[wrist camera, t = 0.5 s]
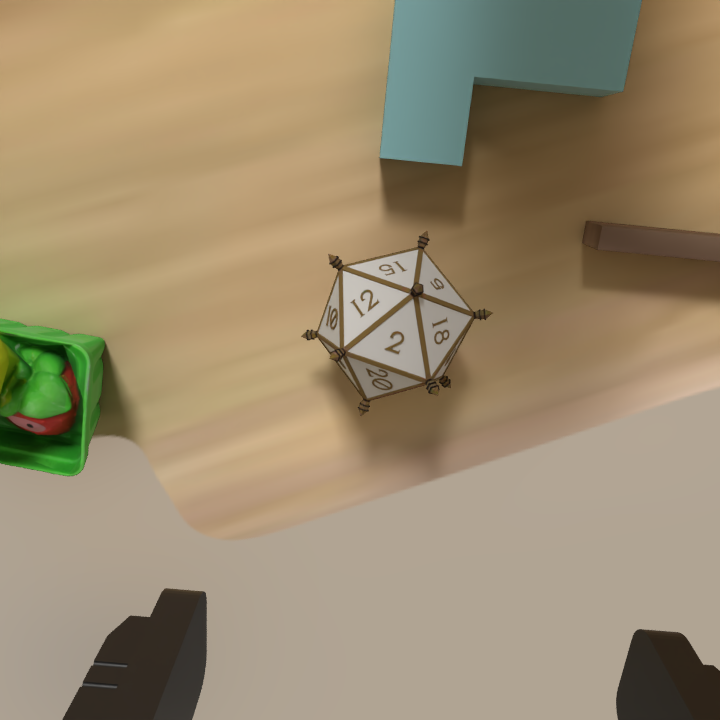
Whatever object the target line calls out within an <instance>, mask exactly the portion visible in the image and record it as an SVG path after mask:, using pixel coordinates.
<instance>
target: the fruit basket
mask: <svg viewBox="0 0 720 720" xmlns="http://www.w3.org/2000/svg"><path fill="white" fill-rule="evenodd" d="M104 348H105V342H104V340H103V339H102V338H100V337H94V336H89V335H84V334H73V335H69V334H68V333H66V332H64V331H62V330H57V329H52V328H47V327H41V326H29V327H27V326H26V325H23V324H21V323H20V322H15V321H10V320H5V319H0V463H1V464H5V465H11V466H16V467H23V468H27V469H32V470H38V471H43V472H49V473H52V474H58V475H63V476H74V475H77V474H79V473H80V472H81V471H82V470H83V468H84V465H85V462H86V459H87V456H88V446H89V443H90V441H91V438H92V436H93V433H94V430H95V427H96V425H97V422H98V419H99V417H100V407H99V403H98V401H99V398H100V396H101V392H102V379H103V362H102V358H101V355H102V353H103V351H104Z"/></svg>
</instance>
